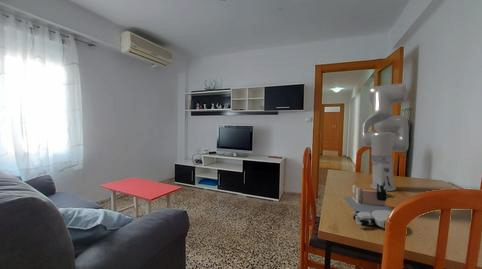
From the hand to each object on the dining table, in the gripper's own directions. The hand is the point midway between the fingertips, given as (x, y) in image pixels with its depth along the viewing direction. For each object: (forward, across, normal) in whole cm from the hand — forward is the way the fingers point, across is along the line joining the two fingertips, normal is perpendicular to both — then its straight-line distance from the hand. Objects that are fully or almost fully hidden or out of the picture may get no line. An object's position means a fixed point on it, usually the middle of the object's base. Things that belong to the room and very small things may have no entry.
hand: (381, 200), depth 93 cm
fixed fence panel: (+4, +8, +8) cm, 11 cm away
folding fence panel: (+3, +3, +2) cm, 5 cm away
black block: (+4, +19, -8) cm, 21 cm away
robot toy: (+5, -17, +9) cm, 20 cm away
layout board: (+4, +3, +4) cm, 7 cm away
